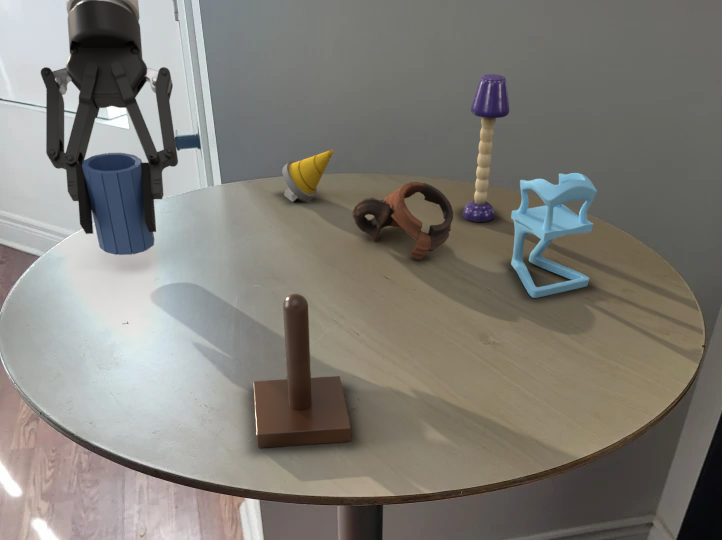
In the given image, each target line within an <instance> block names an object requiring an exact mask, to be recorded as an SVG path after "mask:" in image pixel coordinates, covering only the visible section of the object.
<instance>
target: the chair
mask: <svg viewBox="0 0 722 540" xmlns="http://www.w3.org/2000/svg"><path fill="white" fill-rule="evenodd" d="M519 186H520V194H521V195H520V196H521V201H520V205H519V208H518V209H513V210H512V211H511V215H510V219H511V220H513V224H514V238H513V239H514V240H513V242H514V243H513V250H512V251H513V252H512V258H511V262H510V265H511V266H512V268H513V269H514V270H515V272H516V273H517V275H518V277H519V279H520V281H521V283H522V284H523V287H524V289H525V291H526V292H527V293H528V295H529V296H530V297H531V298H533V299H538V298H542V297H547V296H551V295H555V294H560V293H565V292H568V291H572V290H578V289H581V288H586V287H588V286H589V282H590V277H589V276H587V275H585V274H583V273H582V272H580V271H577V270H576V269H575V270H574V269H573V268H570V267H568V266H565V265H563V264H561V263H558V262H556V261H553V260H551V259H548V258H547V257H544V256H543V255H542V254H543V253H544V252H545V250H546V249H547V248H548V247H549V246H550V244H551V243H552V242H553V241H554V240H555V239H558V238H561V237H563V236H564V237H565V236H570V235H578V234H586V233H591V232H592V231H593V228H594V223H593V222H591V221H590V220H588V211H589V209H590V206H591V205H592V203H593V201H594V199H595V198H596V195H597V194H598V189H596V187H595V185H594V184H593V182H592V180H591V179H590V178H589V177H588V176H586V175H585V174H584V173H583V174H582V173H580V172H572V173H567V174H565V173H562V172H561V173H558V184H553V183H551V182H549V181H548V180H546V179H544V178H535V179H531V180H525V179H520V180H519ZM528 191H533V192H534V193H536V194H537V195H538V196H539V198H540V199H541V201H543V203H544V204H543V205H540V206H536V207H529V206H530V205H529V204H530V200H529V195H528V194H529V193H528ZM571 201H572V202H573V201H584V203H583V204H582V205H581V208H580V210H579V213H578V214H577V213H576V212H574V211H573V210H571V209H570V208H568V206H566V205H564V204H563V203H567V202H571ZM528 234H530V235H533V236H534V235H535V236H536V237H537V238H538V239H540V240H539V241H538V243H537V244H536V246H535V247H533V249H532V251H531V252H530V254H529V257H528V262H529V263H531V264H533V265H534V266H537V267H539V268H541V269H543V270H545V271H548V272H551V273H553V274H556V275H558V276H560V277H563V278H566V279H568V280H566V281H561V282H556V283H551V284H547V285H542V286H537V285H536V284H535V283H534V281H533V278H532V276H531V274H530V271H529V270H528V267H527V266H526V263H525V262H524V260H523V258H524V257H523V256H524V248H525V247H524V246H525V241H526V237H527V235H528Z"/></svg>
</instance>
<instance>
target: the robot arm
mask: <svg viewBox="0 0 722 540" xmlns="http://www.w3.org/2000/svg"><path fill="white" fill-rule="evenodd" d="M65 2H66V3H65V4H66V5H65V6H66V12H67V31H68V46H69V57H68V60H67V61H66V64H65V67H63V68H60V69H56V70H52V69H51V68H50V67H42V68H41V70H40V76H41V78H42V81H43V83H44V86H45V90H46V93H45V95H46V97H45V98H46V102H45V103H46V116H45V117H46V118H45V121H46V122H45V124H46V125H45V126H46V127H45V128H46V129H45V130H46V132H45V137H46V138H45V141H46V142H45V143H46V144H45V148H46V149H45V153H46V156H47V158H48V159H49V161H50V163H51V164H52V166H53V167H54V168H55V169H63V170H65V171H66V185H67V193H68V195H69V196H70V198H71V200H72V201H73V202H78V217H79V225H80V226H81V227H80V228H82V231H83V232H84V233H85V234H86V235H93V234H94V224H93V223H94V222H93V214H92V209H91V204H90V200H89V195H88V190H87V186H86V181H85V176H84V172H83V168H82V165H83V162H84V160H86V156H87V152H88V147H89V143H90V141H91V136H92V132H93V128H94V125H95V121H96V119H97V118H98V115H99V112H100V109H105V108H109V107H114V108H117V109H119V108H120V109H123V108H124V109H126V111H127V113H128V116H129V118H130V120H131V123H132V126H133V128H134V130H135V133H136V135H137V138H138V140H139V143H140V145H141V148H142V150H143V152H144V155H145V158H146V160H147V162H142V163H141V169H142V186H143V199H144V213H145V223H146V225H147V228H148V230H149V232H153V233H156V232H157V225H156V224H157V223H156V211H155V200H163V198H164V183H163V181H164V180H163V171H164V169H166V168H169V167H176V166H178V164H179V158H178V151H177V143H176V137H175V129H174V123H173V118H172V116H173V115H172V110H171V103H170V100H171V96H172V91H173V88H174V87H173V79H172V76H171V71H170V69H169V68H168V67H164V66H163V67H160V68H159V69H158V70H157V69H153V68H149V67H147V63H146V62H145V61H144V59H143V48H142V33H141V25H140V22H139V21H140V8H139V0H65ZM69 83H72V84H73V85H74V86H75V88H76V89H77V90H78V91H79V94H78V105H77V108H76V113H75V116H74V120H73V123H72V127H71V132H70V135H69V138H68V143H67V146H66V150H65V100H64V96H63V95H66V93H67V90H68V84H69ZM146 83H149V84H150V87H151V91H152V92H153V93H155V96H156V106H157V111H158V112H157V113H158V118H159V125H160V127H159V128H160V133H161V141H162V147H163V149H162V150H159V151H157V148H156V146H155V143H154V141H153V138H152V135H151V133H150V131H149V129H148V126H147V124H146V121H145V118H144V116H143V114H142V110H141V109H140V106H139V104H138V101H137V99H136V98H137V96H138V95H139V93H140V92H141V90H142V88H143V87H144V85H145V84H146Z"/></svg>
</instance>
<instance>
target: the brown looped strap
mask: <svg viewBox="0 0 722 540" xmlns="http://www.w3.org/2000/svg"><path fill="white" fill-rule="evenodd" d="M416 193H420V194H422V195H423V197H424V199H423V200H425V201H426V202H429V203H433V204H435V205H438V206H439V207H440V209H441V212H442V215H443V216H442V217H443V220H444V221H443V222H442V223H439V224H431V225H430V226H429V228H428V232H426V231H422V228H423V222H422V221H421V220H420V219H419V218H417V217H416V216H415V215H413V214H412V212H411V211H410V210H409V208H408V206H407V203H406V202H405V199H408V198H410V197H411V196H414V195H415V194H416ZM367 215H371V216H373V217H372V218H371V219H368V218H367V217H366V216H367ZM352 217H353V220H354V223H355V225H356V227H357V228H358V229H359V230H360V231H361V232H363V233H365V234H367V235H368V236H369V237H370V240H371V241H372V242H374V243H378V242H379V239H380V238H379V237H380V234H381V230H382V229H384V228H386V227H394V228H400V229H403V230H404V232H406V233H407V234H408V236H410V237H411V238H413V239H414V240H415V244H414V247H413V248H412V249H411V251H410V257H411V258H413V259H416V260H419V261H420V260H423V259H424V258H425V257H426V256H427V255H428V253H429V252H430V253H431V252H434V251H435V250H436V249H438V248H439V247H441V246H442V245H444V243H446V241H447V240H448V238H449V236H450V232H451V227H452V222H453V220H454V210H453V206H452V204H451V202H450V201H449V200H448V197H446V195H445V194H444V193H443V192H442V191H441V190H440V189H439V188H436V187H435V186H433V185H431V184H428V183H425V182H420V181H410V182H408V183H405V184H403V185H402V186H401V187H400V188H398V189H395V190H393V191H391V192H390V193H388V194H387V195H386V196H385V197H384V198H383V199H378V198H376V197H367V198H363V199H362V200H359V201H358V202H357V204H356V205H355V206H354V208H353V210H352Z"/></svg>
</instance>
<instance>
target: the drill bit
mask: <svg viewBox="0 0 722 540" xmlns="http://www.w3.org/2000/svg"><path fill="white" fill-rule="evenodd" d="M334 152H335V149H330V150H327V151H324V152H321V153H318V154H315V155H313V156H312V155H311V156H310V157H307V158H304V159H301V160H298V161H297V160H296V161H295V160H289V161H288V162H287V163H286V164H284V166H283V167H282V170H281V171H282V172H281V173H282V177H283V181H284V182H285V184H286V186H287V188H286V189H284V194H283V196H284V197H286V198H287V199H288V200H289V201H290V202H292V203H294V202H295V201H296V200H297V199H298V198H299V199H301V200H303V201H310V200H311V199H313V198H314V197H315V196H316V195H317V192H318V188H317V187H318V185H319V183H320V181H321V179H322V177H323V174H324V172H325V170H326V168H327V166H328V164H329V162H330V159H331V158H332V156H333V154H334Z"/></svg>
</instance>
